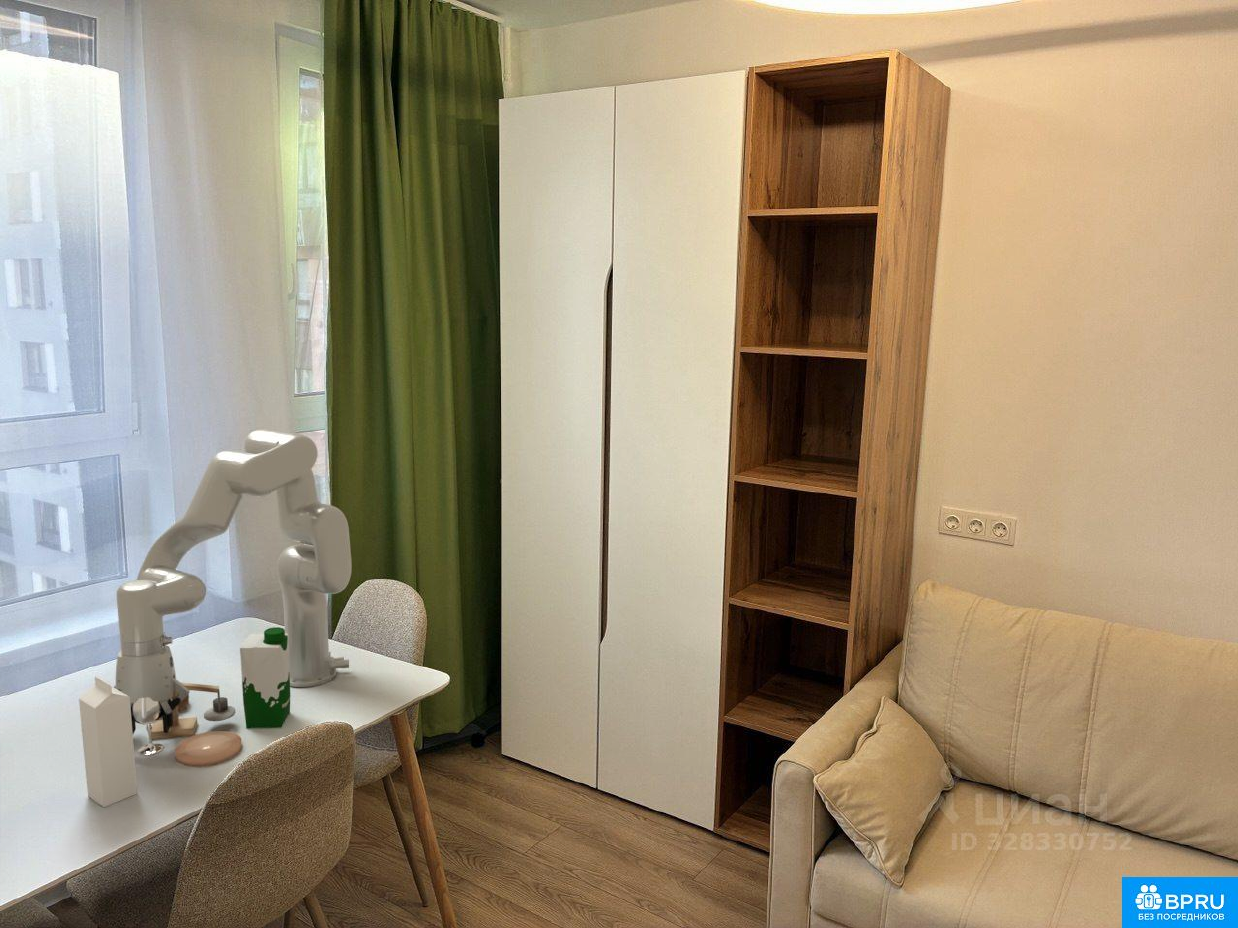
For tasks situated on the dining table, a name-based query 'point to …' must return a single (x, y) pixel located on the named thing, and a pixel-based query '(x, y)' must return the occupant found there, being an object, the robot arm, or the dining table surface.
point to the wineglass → (147, 721)
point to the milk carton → (266, 678)
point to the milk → (108, 744)
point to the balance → (189, 724)
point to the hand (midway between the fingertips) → (149, 730)
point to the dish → (208, 748)
